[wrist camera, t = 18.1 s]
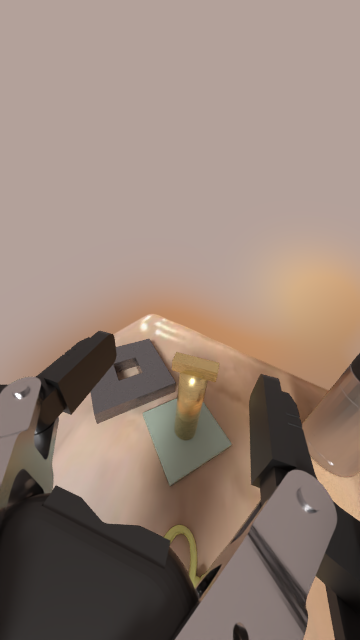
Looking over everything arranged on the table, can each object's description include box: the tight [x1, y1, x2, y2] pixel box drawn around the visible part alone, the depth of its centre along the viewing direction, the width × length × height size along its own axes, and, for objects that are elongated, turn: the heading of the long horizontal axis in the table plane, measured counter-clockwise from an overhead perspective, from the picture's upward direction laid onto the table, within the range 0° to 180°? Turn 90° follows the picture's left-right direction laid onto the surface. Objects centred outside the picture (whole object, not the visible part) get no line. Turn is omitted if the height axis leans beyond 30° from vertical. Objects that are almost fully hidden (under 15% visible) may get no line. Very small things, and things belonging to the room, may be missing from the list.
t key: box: [172, 352, 219, 440], centre depth 29 cm, size 6×4×17 cm, turn 74°
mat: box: [143, 398, 232, 486], centre depth 34 cm, size 12×12×1 cm
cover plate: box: [91, 339, 176, 424], centre depth 42 cm, size 16×16×3 cm
